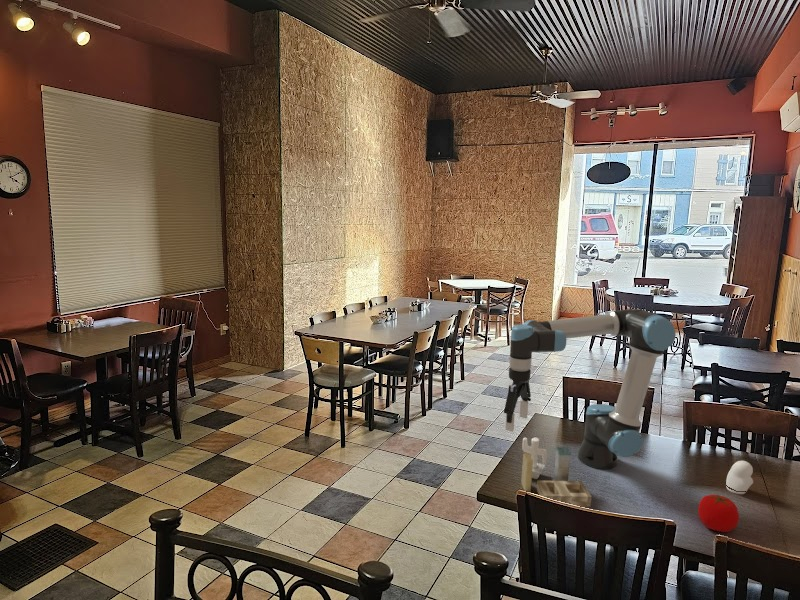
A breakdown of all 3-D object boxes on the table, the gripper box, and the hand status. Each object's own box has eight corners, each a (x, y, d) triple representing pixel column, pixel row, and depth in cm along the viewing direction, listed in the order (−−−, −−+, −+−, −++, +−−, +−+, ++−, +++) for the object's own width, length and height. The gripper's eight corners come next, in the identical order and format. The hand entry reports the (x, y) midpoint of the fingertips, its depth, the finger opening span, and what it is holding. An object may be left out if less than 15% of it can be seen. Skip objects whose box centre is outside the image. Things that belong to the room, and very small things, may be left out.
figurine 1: (543, 482, 197) (546, 445, 194) (518, 476, 201) (520, 439, 198) (547, 474, 203) (550, 438, 200) (523, 468, 207) (525, 432, 205)
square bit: (564, 481, 198) (567, 447, 196) (567, 487, 194) (571, 452, 191) (553, 481, 198) (556, 446, 195) (556, 487, 194) (559, 452, 191)
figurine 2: (741, 497, 190) (747, 467, 188) (721, 487, 197) (725, 457, 194) (753, 493, 193) (758, 463, 191) (732, 483, 200) (737, 454, 198)
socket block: (580, 491, 192) (581, 481, 191) (590, 507, 182) (591, 496, 181) (536, 490, 192) (537, 480, 191) (544, 506, 182) (545, 495, 181)
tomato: (699, 533, 169) (703, 503, 167) (693, 512, 180) (697, 484, 178) (740, 542, 165) (745, 511, 163) (731, 520, 176) (736, 491, 174)
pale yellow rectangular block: (526, 483, 196) (528, 453, 194) (530, 491, 191) (532, 461, 188) (521, 483, 196) (523, 453, 194) (525, 491, 191) (527, 461, 188)
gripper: (522, 357, 200) (519, 410, 205) (496, 375, 180) (493, 433, 184) (541, 361, 196) (538, 414, 201) (517, 379, 176) (513, 439, 180)
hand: (516, 423), depth 192 cm, fingers open, 13 cm apart
